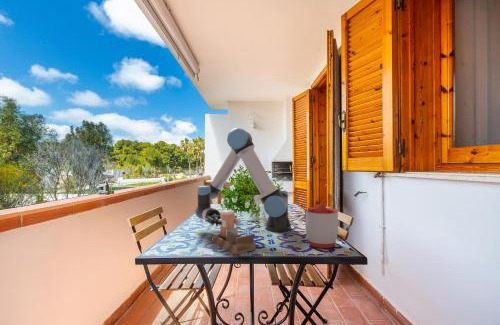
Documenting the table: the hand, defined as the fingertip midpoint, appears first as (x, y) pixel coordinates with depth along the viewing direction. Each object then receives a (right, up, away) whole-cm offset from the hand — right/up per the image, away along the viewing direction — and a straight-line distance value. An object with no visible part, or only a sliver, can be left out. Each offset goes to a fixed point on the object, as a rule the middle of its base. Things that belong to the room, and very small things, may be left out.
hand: (232, 223), depth 123 cm
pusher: (0, -10, +1) cm, 10 cm away
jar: (-3, -7, +4) cm, 9 cm away
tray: (0, -11, 0) cm, 11 cm away
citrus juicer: (+42, -11, 0) cm, 44 cm away
